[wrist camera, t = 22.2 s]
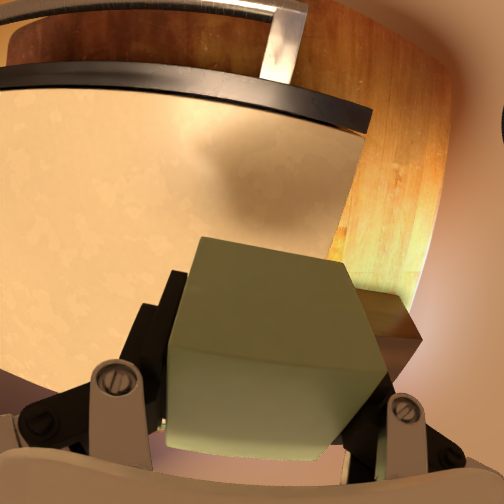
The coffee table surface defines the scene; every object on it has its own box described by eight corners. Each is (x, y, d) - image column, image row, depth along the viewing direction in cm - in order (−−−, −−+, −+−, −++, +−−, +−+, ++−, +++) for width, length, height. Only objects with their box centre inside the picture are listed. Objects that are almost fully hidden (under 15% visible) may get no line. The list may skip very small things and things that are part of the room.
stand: (341, 285, 54) (358, 333, 43) (398, 295, 55) (423, 340, 44) (318, 336, 59) (328, 385, 49) (372, 342, 60) (389, 388, 50)
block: (200, 234, 11) (167, 344, 6) (343, 262, 11) (389, 371, 7) (186, 341, 13) (165, 446, 9) (302, 359, 13) (316, 461, 9)
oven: (41, 79, 36) (-90, 104, 13) (303, 108, 40) (366, 138, 17) (43, 256, 51) (-36, 350, 29) (252, 300, 55) (251, 436, 32)
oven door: (48, 32, 32) (-80, 29, 10) (316, 55, 36) (394, 20, 14) (41, 77, 36) (-89, 102, 13) (303, 106, 40) (366, 134, 17)
